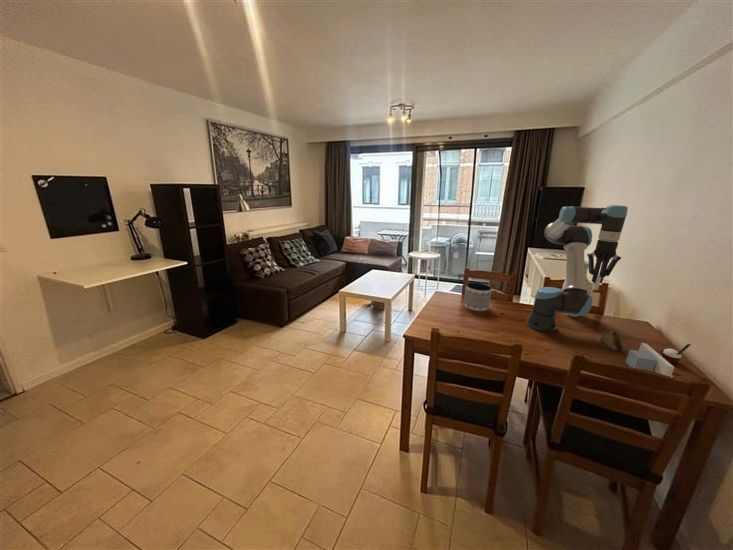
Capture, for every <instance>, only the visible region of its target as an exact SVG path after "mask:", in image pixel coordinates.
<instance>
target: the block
mask: <svg viewBox="0 0 733 550" xmlns="http://www.w3.org/2000/svg"><path fill="white" fill-rule="evenodd" d="M656 362H657V360H656V359H655V358H654V357H653V356H652V355H650V354H649V353H648V352H644V351H639V350H636V349H629V351H628V354H627V357H626V359H625V363H626V365H627V366H628V367H629V368H630V367H633V368H638V369H645V370H648V371H653V370H654V367H655V364H656Z"/></svg>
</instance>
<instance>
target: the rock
mask: <svg viewBox="0 0 733 550" xmlns="http://www.w3.org/2000/svg"><path fill="white" fill-rule="evenodd" d="M600 342H602V343H603V344H604V345H606V346H607V347H608V348H609V349H612V350H613V351H617V352H620V353H623V352H624V346H623V344H622V342H621V338H620V336H619V334H618V333H617V331H616V329H615V330H612V331H609V332H606V333H603V335H602V336H600Z"/></svg>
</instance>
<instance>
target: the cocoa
mask: <svg viewBox="0 0 733 550" xmlns="http://www.w3.org/2000/svg"><path fill="white" fill-rule="evenodd" d="M691 345H692V344H691V343H687V344H686V345H684V347H682V348H681V349H680V350H679V351H677V350H676V349H673V348H665V349H664V350H660V356H662V357H663V358H664V359H665V360H666V361H668V362H669V363H670V364H677V363H678V362H680V360H681V359H682V357H683V356H682V354H683V352H685V351H686V350H687V349H688V348H690V346H691Z"/></svg>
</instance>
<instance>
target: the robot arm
mask: <svg viewBox="0 0 733 550" xmlns="http://www.w3.org/2000/svg"><path fill="white" fill-rule="evenodd" d="M628 209H629V208H628V206H627V205H619V204H609V205H607V206H606V207H590V206H589V207H586V206H573V205H571V206H562V207H561V208H560V211H559V215H558V218H557V219H556V220H555V221H554V222H550V223H549V224H547V226H546V227H545V228H544V231H543V235H544V238H546V239H547V241H548V242H550V243H553V244H556V245H562V246H563V249H564V250H565V251H566V265H565V267H566V269H565V271H566V272H565V280H566V288H564V289H563V291H562V289H560V288H559V287H553V286H552V287H551V286H544V287H540V288H538V289H537V290H536V292H535V295H534V302H533V307H532V311H531V313H530V315H529V316H528V318H527V319H526V323H525V324H526V325H527V327H529V328H531V329H533V330H536V331H538V332H544V333H552V332H555V331H556V329H557V322H556V314H557V313H561V314H564V313H567V314H574V315H579V316H586V315H587V314H588V313H589V312H590V309H592V306H593V305H592V304H593V297H592V296H590V295H587V290H586V289H585V288H584V261H585V251H586V249H588V247H590V245H591V244H592V240H593V232H592V229H591V228H590V227H589V226H584V225H576V224H589V225H590V224H591V225H593V224H594V225H600V230H599V234H598V239H597V242H596V244H595V245H596V246H595V249H594V250H593V251H592V252H591V253H589V252H588V253H586V256H587V258H588V261H589V268H588V273H589V274H590V275H591V276H592V278H591V283H593V285H592V289H593V291H598V290H599V288H600V284H602V283H603V281H604V278H606V277H609V276H610V275H611V273H612V271H613V269H614V268H615V267H616V265H617V263H618V262H619V261H620V260H621V259H622V257H621V256H619V255H617V248H618V245H619V241H620V239H621V235H622V230H623V228H624V224H625V221H626V218H627V215H628ZM594 257H595V258H596V259H594ZM595 261H596V262H595Z"/></svg>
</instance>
